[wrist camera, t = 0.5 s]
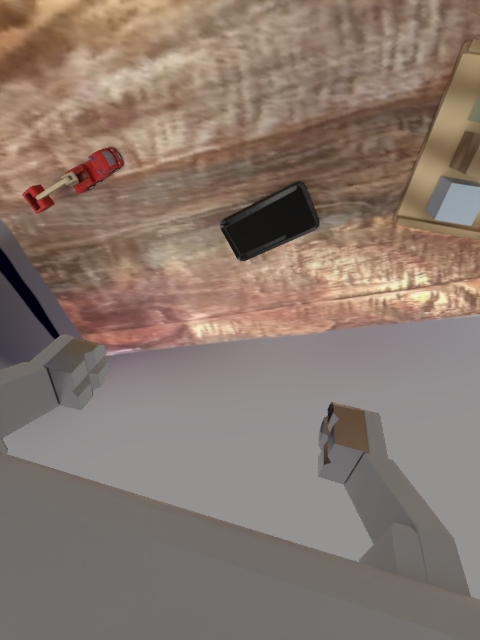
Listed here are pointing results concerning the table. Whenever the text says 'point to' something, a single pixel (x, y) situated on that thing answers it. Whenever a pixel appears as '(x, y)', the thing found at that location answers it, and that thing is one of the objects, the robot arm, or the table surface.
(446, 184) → the blue-grey cube
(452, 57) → the table surface
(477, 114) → the pale green cube
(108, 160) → the toy fire truck
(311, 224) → the phone
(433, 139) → the tan tray
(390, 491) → the robot arm
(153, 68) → the table surface
